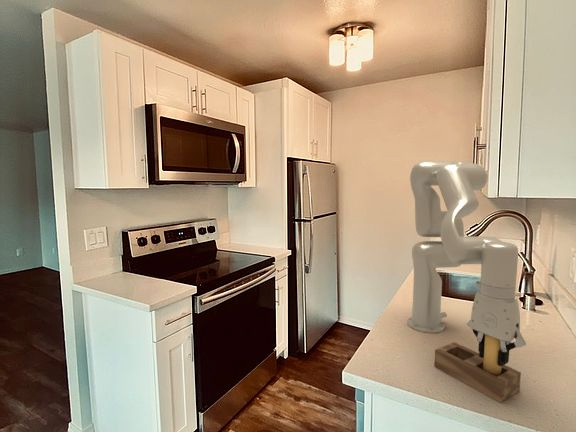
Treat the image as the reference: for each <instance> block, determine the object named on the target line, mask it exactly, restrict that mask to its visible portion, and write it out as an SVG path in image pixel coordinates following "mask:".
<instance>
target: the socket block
mask: <svg viewBox="0 0 576 432" xmlns="http://www.w3.org/2000/svg"><path fill="white" fill-rule="evenodd" d="M483 359H484V357H483V358H481V357H479V352H477V351H475V350H473V349H470V348H468V347H466V346H463V345H461V344H459V343H457V342H456V341H454V342H451V343H449V344H446V345H445V346H441V347H438V348H436V349H435V350H434V363H433V364H434V367H435V368H437V369H438V370H440V371H442V372H443V373H445V374H446V375H449V376H451V377H453V378H455V379H457V380H458V381H460V382H462V383H463V384H466V385H467V386H469V387H470V388H473V389H474V390H477V392H480V393H482V394H483V395H484V396H485V395H486V397H489V398H491V399H492V400H495V401H497V402H498V403H502V402H503V400H504V401H505V400H507V399H508V398H510V397H512V396H514V395H516V394H517V393H518V392H520V386H521V375H522V372H521V371H519V370H517V369H515V368H512V367H510V366H508V365H507V364H505V365H503V366H502V368H501V375H499V376H497V377H496V376H494V375H492V374H490V373H488V372H486V371H484V370H483Z"/></svg>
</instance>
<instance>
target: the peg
mask: <svg viewBox="0 0 576 432" xmlns="http://www.w3.org/2000/svg"><path fill="white" fill-rule="evenodd" d="M499 350H501V345H500V340H498V339H496V338H493V337H491V336H488V335H485V344H484V359H483V370H484V371H486V372H488V373H490V374H492V375H494V376H496V377H497V376H499V375H501V368H502V366H499V365H498V351H499Z"/></svg>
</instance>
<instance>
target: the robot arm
mask: <svg viewBox="0 0 576 432" xmlns="http://www.w3.org/2000/svg"><path fill="white" fill-rule="evenodd" d="M409 175H410V177H409V180H410V181H409V182H410V187H411V191H412V195H413V198H414V216H415V217H414V220H415V229H416V230H415V231H416V233H417V235H418V236H420V237H422V238H440V239H441V240H439V241H438V240H426V241H425V240H424V241H420V242H417V243H415V244H414V245H413V247H412V249H411V258H412V263H413V266H412V267H413V285H412V287H413V288H412V307H411V308H412V312H411V314H412V315H411V316H410V317H409V318H408V319H407V322H406V323H407V325H408V326H409V327H410V328H411V329H413V330H415V331H418V332H421V333H426V334H437V333H442V332H444V330H445V324H444V323H443V322H442V319H444V318H446V317H448V314H447V313H446V312H445V311H443V312H441V309H442V307H441V306H442V290H443V288H442V287H443V281H442V277H441V276H440V274H439V273H438V271H437V270H436V269H441V268H442V269H446V268H451V269H452V268H458V267H460V266H461V265H481V268H480V281H475V286H476V287H478V289H479V290H478V291H477V292H476V293H475V296H474V299H473V303H472V308H471V314H470V319H469V321H467V322H466V325H467V327H468V328H469V329H470V330H471V331H472V333H473V334H474V335H475V337H476V340H477V342H478V348H477V349H478V353H479V357H481V358H483V357H484V344H485V335H488V336H491V337H493V338H496V339H498V340H500V345H501V350H499V351H498V365H499V366H503V365H507V364H509V361H510V351H511V350H513V349H515V348H522V347H525V346H526V345H527V343H526V341H525V339H524V337H523V335H522V333H521V312H520V306H519V301H518V299H517V298H516V292H517V274H518V264H519V263H518V261H519V260H518V259H519V249H518V246H517V245H516V244H514V243H511V242H507V241H502V240H501V239H499V238H497V237H494V236H465V231H464V229H465V228H464V221H463V218H465V217H467V216H469V215H471V214H472V213H474V212H475V211H476V210H477V209H478V207H479V203H480V202H479V200H478V196H477V195H476V193H475V191H480V190H482V189H483V188H484V187H486V185H487V182H488V174H487V171H486V170H485V168H484V167H483V166H482V165H481V164H478V163H471V162H466V161H455V160H450V161H448V160H447V161H445V160H428V161H420V162H418V163H416V164H414V165H413V167H412V169H411V171H410V174H409ZM432 186H433V187H432ZM435 186H438V188H439V191H440V193H441V196H442V199H443V202H444V205H445V207H446V210H442V209H441V198H440V196H439V194H438V192H437V191H436V190H435V189H434V187H435ZM513 340H515V341H513Z"/></svg>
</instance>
